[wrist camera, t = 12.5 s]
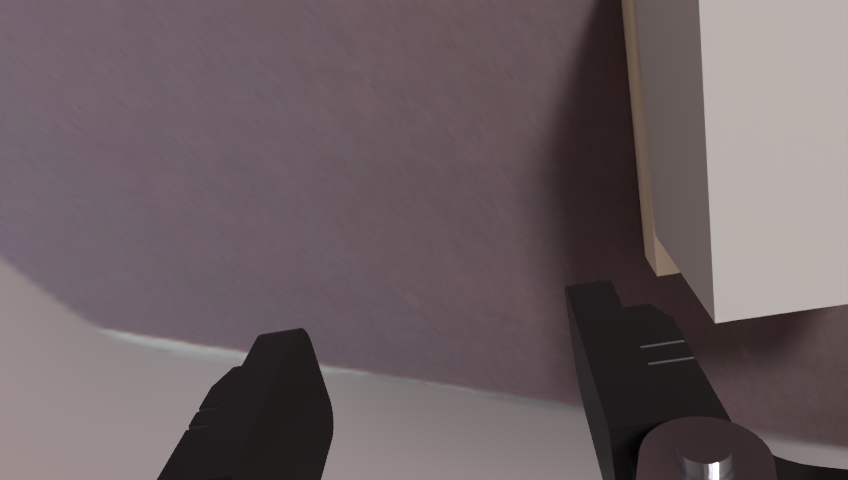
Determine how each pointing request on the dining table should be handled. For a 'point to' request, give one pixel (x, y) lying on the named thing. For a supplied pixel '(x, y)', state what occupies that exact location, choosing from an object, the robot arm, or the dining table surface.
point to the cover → (749, 149)
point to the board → (642, 145)
